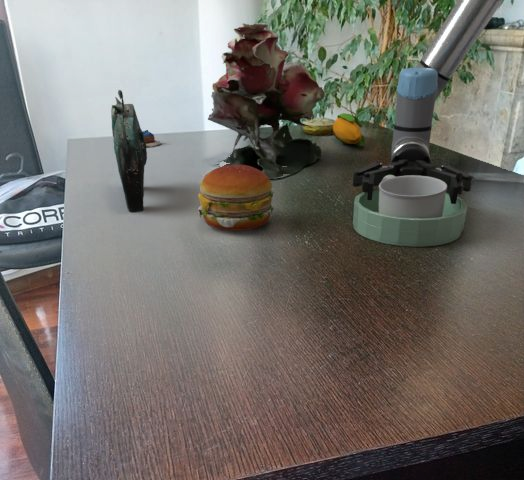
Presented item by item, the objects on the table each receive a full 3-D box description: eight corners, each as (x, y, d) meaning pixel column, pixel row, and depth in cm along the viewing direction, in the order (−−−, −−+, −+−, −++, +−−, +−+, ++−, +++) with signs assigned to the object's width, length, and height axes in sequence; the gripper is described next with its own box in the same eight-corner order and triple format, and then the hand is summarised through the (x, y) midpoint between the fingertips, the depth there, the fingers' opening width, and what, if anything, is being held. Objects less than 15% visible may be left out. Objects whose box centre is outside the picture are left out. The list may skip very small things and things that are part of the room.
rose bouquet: (331, 154, 147) (337, 20, 131) (281, 182, 125) (282, 25, 109) (244, 145, 157) (240, 20, 141) (184, 170, 135) (172, 24, 119)
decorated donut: (343, 131, 173) (344, 118, 171) (325, 137, 165) (326, 123, 163) (314, 127, 178) (315, 115, 176) (295, 133, 171) (296, 120, 169)
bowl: (457, 213, 106) (461, 189, 103) (467, 250, 90) (472, 222, 88) (356, 208, 109) (358, 184, 107) (349, 242, 94) (350, 216, 91)
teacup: (451, 239, 93) (459, 190, 89) (387, 244, 91) (393, 194, 87) (417, 212, 105) (423, 168, 101) (360, 216, 103) (364, 171, 99)
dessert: (125, 143, 157) (131, 123, 157) (136, 153, 164) (141, 134, 164) (151, 147, 155) (156, 127, 155) (161, 158, 162) (166, 137, 162)
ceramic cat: (120, 185, 124) (106, 85, 114) (150, 183, 125) (139, 84, 115) (120, 214, 107) (103, 99, 97) (154, 211, 109) (141, 97, 98)
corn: (354, 108, 162) (373, 120, 145) (354, 136, 166) (373, 151, 149) (328, 110, 162) (345, 123, 145) (329, 138, 166) (345, 154, 149)
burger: (266, 238, 96) (266, 178, 91) (189, 233, 98) (184, 175, 93) (279, 213, 107) (279, 158, 102) (209, 209, 109) (206, 155, 104)
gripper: (473, 184, 111) (487, 220, 93) (345, 179, 115) (334, 212, 98) (480, 144, 107) (496, 173, 89) (347, 141, 111) (337, 167, 94)
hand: (411, 193), depth 93 cm, fingers open, 13 cm apart
